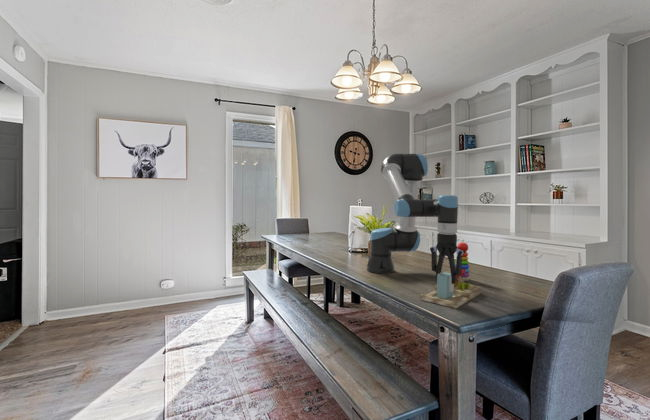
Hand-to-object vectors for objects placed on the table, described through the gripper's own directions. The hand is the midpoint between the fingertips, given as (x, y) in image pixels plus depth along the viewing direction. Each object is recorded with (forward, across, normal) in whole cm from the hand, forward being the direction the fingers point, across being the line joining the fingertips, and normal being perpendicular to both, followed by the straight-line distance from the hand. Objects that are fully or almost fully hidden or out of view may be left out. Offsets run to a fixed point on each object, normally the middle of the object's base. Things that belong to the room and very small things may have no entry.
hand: (445, 289), depth 141 cm
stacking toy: (+4, -8, +37) cm, 38 cm away
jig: (+4, 0, +6) cm, 7 cm away
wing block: (+3, 0, 0) cm, 3 cm away
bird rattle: (+3, 0, +12) cm, 13 cm away
